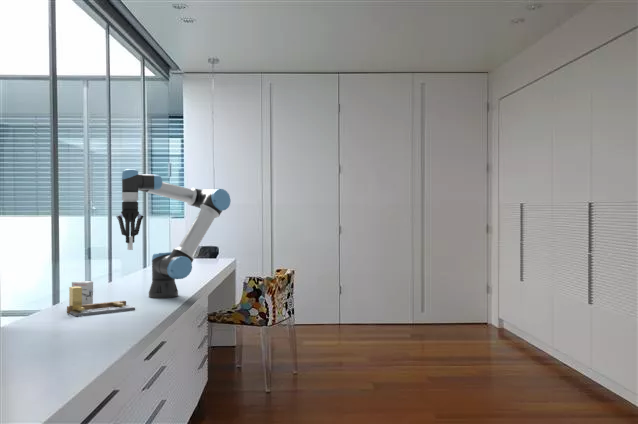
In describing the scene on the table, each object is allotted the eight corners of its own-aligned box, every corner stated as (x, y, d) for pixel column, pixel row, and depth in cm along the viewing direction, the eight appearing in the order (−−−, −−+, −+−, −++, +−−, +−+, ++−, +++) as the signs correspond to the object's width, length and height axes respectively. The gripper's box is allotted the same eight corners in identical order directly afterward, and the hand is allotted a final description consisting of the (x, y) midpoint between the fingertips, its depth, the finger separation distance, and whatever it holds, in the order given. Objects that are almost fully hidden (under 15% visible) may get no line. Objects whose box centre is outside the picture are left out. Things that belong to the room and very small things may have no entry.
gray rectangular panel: (128, 307, 272) (128, 304, 272) (135, 310, 266) (135, 306, 266) (70, 314, 256) (70, 310, 255) (76, 316, 249) (76, 313, 249)
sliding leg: (78, 310, 263) (78, 286, 263) (86, 313, 255) (86, 288, 255) (69, 311, 261) (69, 287, 261) (76, 314, 253) (77, 289, 253)
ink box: (70, 307, 274) (70, 282, 274) (76, 305, 279) (76, 280, 279) (88, 307, 273) (88, 282, 273) (93, 305, 278) (93, 281, 278)
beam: (124, 306, 276) (124, 300, 276) (132, 309, 269) (132, 302, 269) (66, 312, 259) (66, 306, 259) (73, 315, 252) (73, 308, 252)
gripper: (139, 201, 290) (139, 248, 290) (113, 201, 282) (113, 249, 282) (146, 201, 284) (146, 249, 284) (119, 200, 276) (119, 250, 276)
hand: (130, 249), depth 283 cm, fingers closed
